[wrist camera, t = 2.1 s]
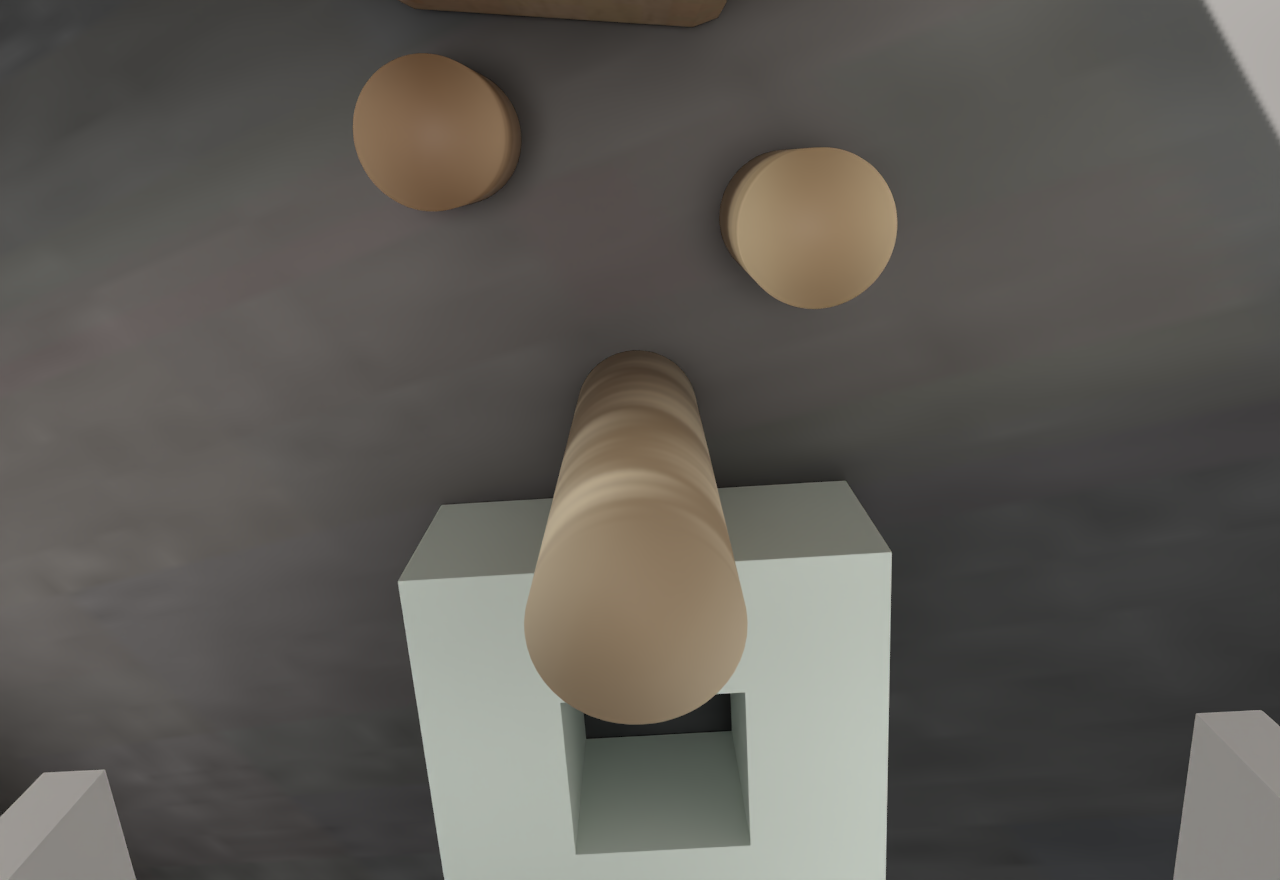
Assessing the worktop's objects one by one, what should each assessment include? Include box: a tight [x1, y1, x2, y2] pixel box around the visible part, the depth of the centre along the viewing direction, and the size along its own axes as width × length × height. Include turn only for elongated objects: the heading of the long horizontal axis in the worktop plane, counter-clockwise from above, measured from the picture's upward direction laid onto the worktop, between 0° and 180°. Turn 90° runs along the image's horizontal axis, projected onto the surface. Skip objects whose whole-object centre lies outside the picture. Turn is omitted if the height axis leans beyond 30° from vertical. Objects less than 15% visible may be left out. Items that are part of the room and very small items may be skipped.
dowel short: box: [353, 53, 521, 211], centre depth 26 cm, size 4×4×4 cm
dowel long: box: [524, 351, 748, 724], centre depth 23 cm, size 4×4×15 cm
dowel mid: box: [719, 147, 897, 309], centre depth 26 cm, size 4×4×6 cm
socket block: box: [398, 480, 892, 880], centre depth 31 cm, size 14×14×6 cm
